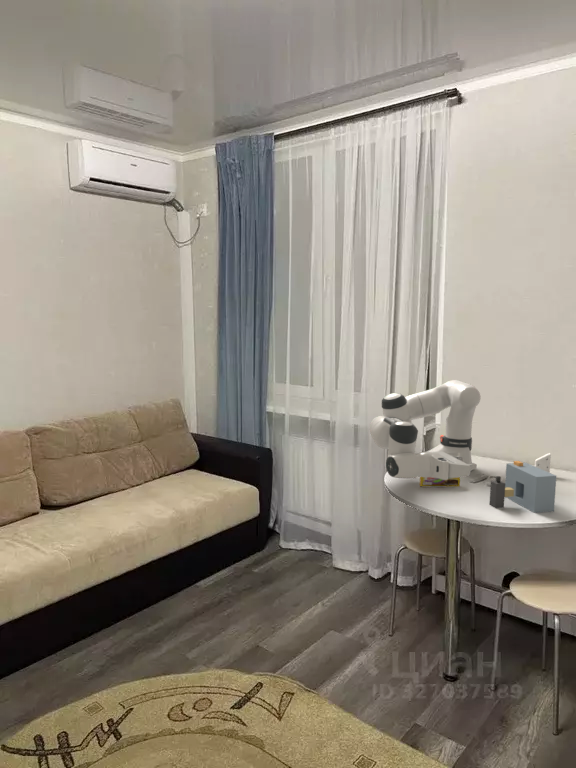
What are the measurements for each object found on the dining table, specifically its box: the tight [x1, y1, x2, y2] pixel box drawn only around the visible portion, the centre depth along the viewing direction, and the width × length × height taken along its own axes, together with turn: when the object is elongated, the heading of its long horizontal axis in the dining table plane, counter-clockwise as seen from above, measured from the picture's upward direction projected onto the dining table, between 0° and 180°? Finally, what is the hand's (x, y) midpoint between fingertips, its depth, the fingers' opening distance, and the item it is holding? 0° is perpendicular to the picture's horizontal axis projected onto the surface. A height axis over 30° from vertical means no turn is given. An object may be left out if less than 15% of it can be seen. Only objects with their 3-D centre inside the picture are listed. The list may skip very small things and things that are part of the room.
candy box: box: [419, 477, 461, 487], centre depth 236 cm, size 16×2×8 cm, turn 95°
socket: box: [504, 460, 557, 514], centre depth 216 cm, size 8×18×14 cm, turn 13°
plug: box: [489, 475, 514, 509], centre depth 213 cm, size 8×4×11 cm, turn 103°
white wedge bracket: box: [534, 452, 552, 473], centre depth 253 cm, size 4×10×9 cm, turn 84°
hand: (468, 462), depth 209 cm, fingers open, 8 cm apart
